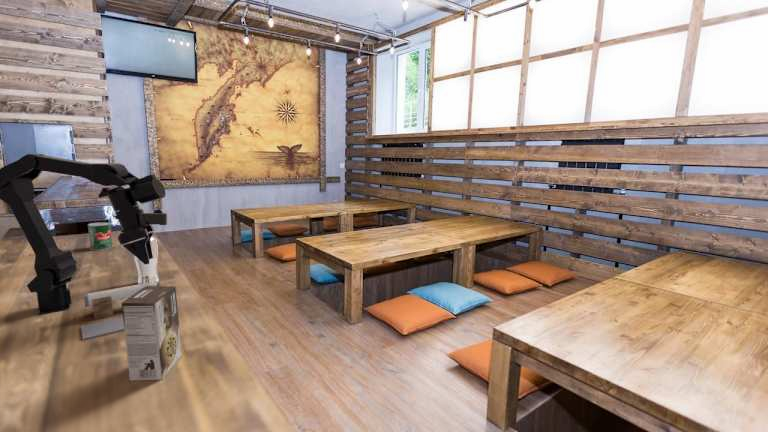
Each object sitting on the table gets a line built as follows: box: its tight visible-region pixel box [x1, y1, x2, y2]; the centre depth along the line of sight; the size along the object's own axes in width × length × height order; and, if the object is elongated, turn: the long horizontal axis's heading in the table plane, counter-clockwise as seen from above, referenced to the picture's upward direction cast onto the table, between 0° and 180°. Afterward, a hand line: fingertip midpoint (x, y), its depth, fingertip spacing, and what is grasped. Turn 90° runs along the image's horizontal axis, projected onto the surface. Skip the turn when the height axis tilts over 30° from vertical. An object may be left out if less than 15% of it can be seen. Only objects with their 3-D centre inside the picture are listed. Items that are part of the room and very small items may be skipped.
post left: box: [91, 298, 114, 320], centre depth 103 cm, size 4×5×5 cm
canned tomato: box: [87, 221, 113, 251], centre depth 170 cm, size 8×8×11 cm
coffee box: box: [120, 285, 183, 382], centre depth 78 cm, size 9×6×16 cm
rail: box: [83, 281, 161, 308], centre depth 106 cm, size 17×3×3 cm, turn 130°
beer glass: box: [133, 236, 160, 285], centre depth 127 cm, size 7×7×15 cm
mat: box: [80, 316, 125, 341], centre depth 99 cm, size 20×8×1 cm, turn 130°
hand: (149, 261), depth 108 cm, fingers open, 9 cm apart
